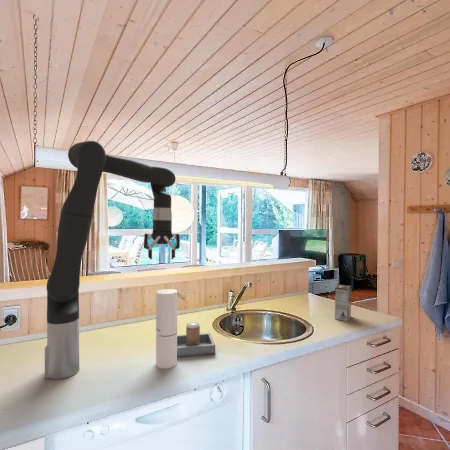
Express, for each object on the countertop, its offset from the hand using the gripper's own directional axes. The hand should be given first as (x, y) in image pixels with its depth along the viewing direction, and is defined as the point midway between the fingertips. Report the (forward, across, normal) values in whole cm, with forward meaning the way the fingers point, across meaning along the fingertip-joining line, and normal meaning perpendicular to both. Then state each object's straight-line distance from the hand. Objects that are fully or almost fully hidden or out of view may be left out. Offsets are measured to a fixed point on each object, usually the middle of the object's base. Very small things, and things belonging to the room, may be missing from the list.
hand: (161, 259), depth 127 cm
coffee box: (+33, +91, +15) cm, 98 cm away
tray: (+33, +12, -11) cm, 37 cm away
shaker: (+32, +12, -11) cm, 36 cm away
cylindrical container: (+34, +2, -21) cm, 40 cm away
